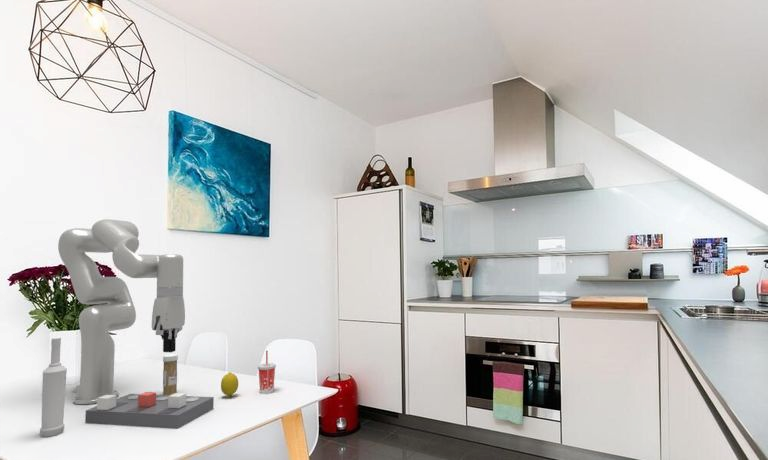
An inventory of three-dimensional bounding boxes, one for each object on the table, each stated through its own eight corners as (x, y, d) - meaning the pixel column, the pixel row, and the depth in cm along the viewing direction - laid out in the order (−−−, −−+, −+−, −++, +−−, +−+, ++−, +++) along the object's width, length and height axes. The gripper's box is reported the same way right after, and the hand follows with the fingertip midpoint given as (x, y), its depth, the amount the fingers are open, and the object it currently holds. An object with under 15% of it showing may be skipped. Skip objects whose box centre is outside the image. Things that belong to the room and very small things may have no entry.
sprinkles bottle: (175, 395, 144) (176, 355, 145) (160, 396, 143) (161, 356, 144) (178, 391, 148) (179, 353, 149) (164, 393, 147) (165, 354, 148)
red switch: (137, 406, 121) (138, 395, 122) (145, 403, 124) (146, 392, 124) (148, 406, 121) (148, 395, 121) (156, 403, 123) (156, 392, 124)
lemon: (232, 399, 138) (232, 374, 138) (217, 399, 139) (217, 374, 139) (241, 394, 143) (241, 370, 144) (226, 394, 144) (226, 370, 145)
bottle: (48, 430, 114) (52, 337, 116) (68, 429, 115) (72, 336, 117) (34, 438, 109) (39, 340, 111) (55, 437, 109) (59, 339, 112)
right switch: (168, 407, 119) (168, 396, 120) (175, 404, 122) (175, 393, 122) (178, 408, 119) (179, 396, 119) (185, 404, 121) (186, 393, 122)
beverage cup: (274, 388, 150) (274, 348, 151) (276, 392, 144) (276, 351, 145) (257, 390, 147) (257, 349, 149) (258, 395, 142) (258, 353, 143)
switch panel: (85, 423, 119) (85, 409, 120) (130, 404, 135) (130, 392, 135) (177, 428, 113) (178, 413, 114) (213, 408, 129) (213, 396, 129)
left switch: (96, 409, 119) (97, 397, 120) (105, 406, 122) (106, 394, 123) (107, 410, 119) (107, 398, 119) (116, 406, 122) (116, 395, 122)
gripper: (175, 292, 142) (175, 347, 140) (141, 294, 127) (140, 356, 125) (195, 291, 140) (195, 347, 139) (163, 294, 126) (162, 356, 124)
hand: (169, 351), depth 132 cm, fingers closed
